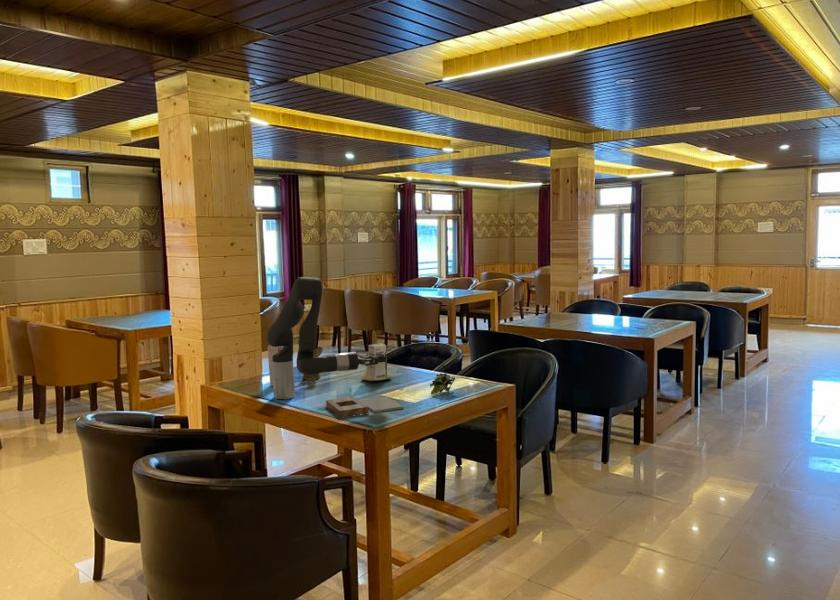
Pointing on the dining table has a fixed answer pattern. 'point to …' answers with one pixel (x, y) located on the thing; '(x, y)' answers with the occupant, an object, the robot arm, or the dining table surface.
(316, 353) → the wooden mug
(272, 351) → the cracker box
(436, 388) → the green leafy plant
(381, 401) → the slate tile
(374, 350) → the syrup box
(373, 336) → the handbell
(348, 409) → the pocket block
